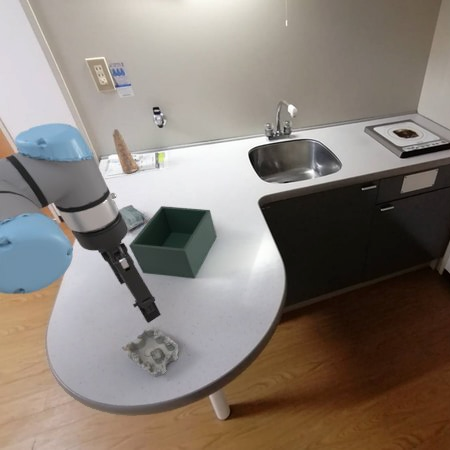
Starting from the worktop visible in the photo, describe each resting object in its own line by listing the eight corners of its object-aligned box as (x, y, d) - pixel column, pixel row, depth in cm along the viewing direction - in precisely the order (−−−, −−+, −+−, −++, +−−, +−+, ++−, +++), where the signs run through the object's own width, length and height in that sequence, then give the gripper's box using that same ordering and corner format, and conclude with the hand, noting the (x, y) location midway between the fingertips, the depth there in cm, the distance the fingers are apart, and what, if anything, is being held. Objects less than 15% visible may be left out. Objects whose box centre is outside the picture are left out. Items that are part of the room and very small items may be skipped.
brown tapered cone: (141, 168, 135) (128, 168, 135) (128, 127, 125) (113, 127, 126) (134, 174, 129) (120, 174, 130) (119, 130, 120) (104, 131, 120)
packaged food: (126, 237, 99) (120, 225, 96) (108, 223, 104) (102, 211, 101) (151, 224, 104) (146, 212, 101) (133, 211, 110) (128, 200, 107)
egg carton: (126, 356, 68) (119, 347, 66) (154, 330, 73) (149, 321, 70) (156, 383, 64) (150, 374, 61) (184, 353, 69) (179, 344, 66)
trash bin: (142, 272, 87) (128, 245, 80) (171, 232, 100) (161, 206, 94) (194, 278, 85) (185, 251, 78) (216, 236, 99) (209, 209, 92)
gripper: (150, 244, 46) (185, 323, 60) (94, 183, 60) (133, 258, 73) (97, 271, 42) (147, 349, 56) (50, 198, 56) (100, 275, 69)
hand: (139, 298), depth 64 cm, fingers open, 13 cm apart
